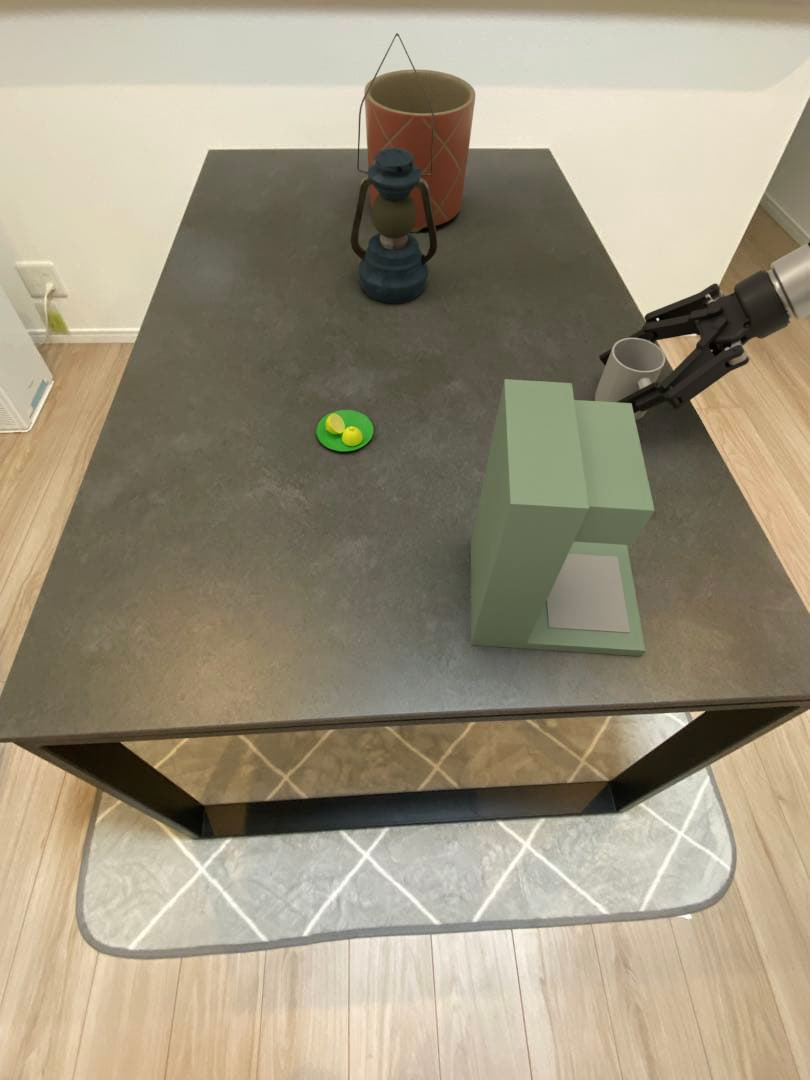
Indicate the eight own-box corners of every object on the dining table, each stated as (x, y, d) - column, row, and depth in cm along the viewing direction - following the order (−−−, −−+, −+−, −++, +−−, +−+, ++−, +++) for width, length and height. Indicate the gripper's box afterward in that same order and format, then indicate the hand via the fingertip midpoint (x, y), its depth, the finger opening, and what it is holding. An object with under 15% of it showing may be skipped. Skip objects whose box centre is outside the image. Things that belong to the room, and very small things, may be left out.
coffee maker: (623, 551, 75) (718, 391, 53) (641, 656, 67) (762, 519, 45) (470, 541, 75) (504, 378, 53) (470, 645, 67) (510, 503, 46)
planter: (412, 246, 112) (416, 125, 95) (347, 205, 119) (341, 86, 103) (483, 213, 119) (498, 94, 102) (418, 176, 127) (423, 60, 110)
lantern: (349, 303, 101) (333, 47, 72) (356, 263, 108) (345, 14, 79) (432, 308, 101) (450, 53, 72) (435, 268, 108) (452, 20, 79)
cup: (632, 384, 92) (653, 335, 84) (656, 432, 86) (682, 384, 79) (587, 388, 91) (604, 339, 84) (608, 436, 86) (629, 388, 78)
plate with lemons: (310, 449, 83) (308, 435, 80) (324, 409, 87) (322, 394, 85) (367, 458, 82) (366, 443, 80) (378, 417, 87) (378, 402, 84)
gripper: (819, 376, 68) (632, 460, 81) (765, 263, 81) (611, 352, 94) (798, 334, 64) (605, 430, 77) (745, 222, 76) (586, 321, 90)
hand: (608, 387), depth 85 cm, fingers closed on cup, 10 cm apart
